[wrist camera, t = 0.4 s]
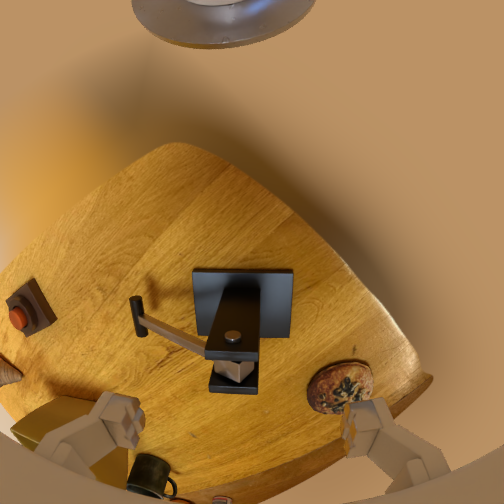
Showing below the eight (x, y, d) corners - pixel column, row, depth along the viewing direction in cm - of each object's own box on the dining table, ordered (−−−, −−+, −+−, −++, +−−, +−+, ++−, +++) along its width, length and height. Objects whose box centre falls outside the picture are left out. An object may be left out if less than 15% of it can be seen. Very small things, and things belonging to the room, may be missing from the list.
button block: (34, 278, 36) (19, 287, 33) (57, 319, 38) (44, 330, 35) (12, 296, 38) (-1, 304, 34) (32, 332, 40) (21, 342, 36)
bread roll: (290, 393, 40) (297, 414, 35) (341, 343, 38) (354, 361, 33) (335, 416, 42) (344, 435, 37) (381, 372, 40) (394, 389, 36)
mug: (141, 448, 48) (128, 480, 38) (188, 469, 49) (181, 502, 40) (131, 459, 50) (119, 488, 40) (174, 478, 51) (166, 508, 42)
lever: (145, 328, 33) (131, 336, 31) (139, 292, 32) (123, 299, 30) (254, 379, 25) (240, 394, 23) (254, 337, 24) (238, 351, 22)
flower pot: (45, 380, 44) (7, 428, 28) (109, 391, 42) (71, 456, 26) (83, 436, 49) (58, 482, 33) (146, 449, 48) (125, 507, 31)
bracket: (199, 330, 37) (172, 402, 24) (194, 268, 35) (156, 326, 21) (288, 333, 37) (298, 408, 23) (292, 269, 34) (308, 331, 21)
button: (20, 304, 34) (13, 308, 32) (30, 322, 35) (24, 327, 33) (12, 309, 35) (6, 314, 33) (22, 327, 35) (16, 332, 34)
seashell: (28, 362, 49) (10, 347, 43) (27, 391, 43) (7, 379, 37) (-5, 364, 45) (-23, 350, 40) (-7, 391, 40) (-26, 379, 34)
